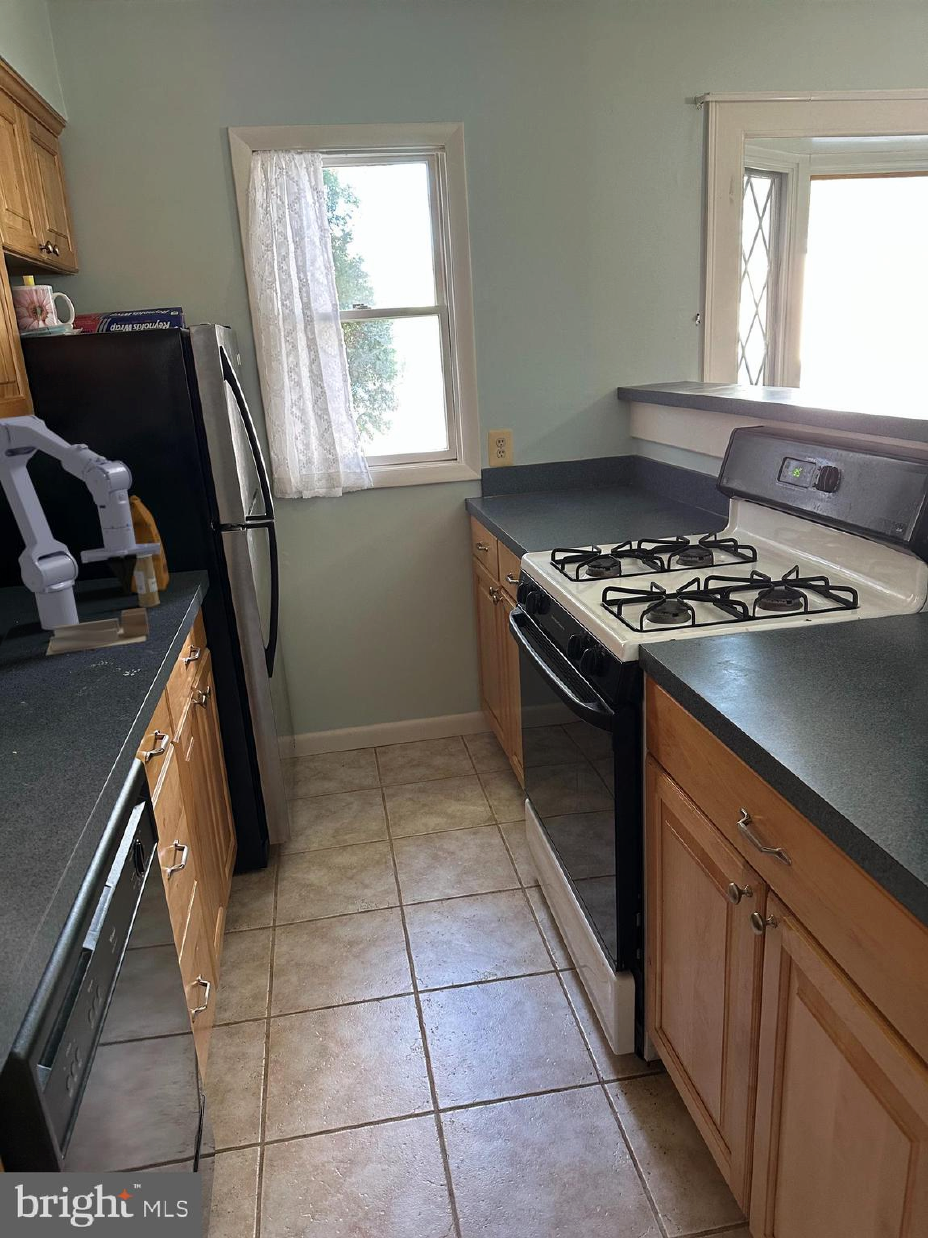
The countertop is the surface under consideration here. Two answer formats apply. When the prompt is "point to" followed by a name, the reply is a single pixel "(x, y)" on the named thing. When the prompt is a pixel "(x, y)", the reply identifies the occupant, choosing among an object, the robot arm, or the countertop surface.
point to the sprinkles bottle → (146, 581)
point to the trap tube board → (89, 636)
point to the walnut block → (135, 622)
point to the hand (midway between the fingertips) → (128, 593)
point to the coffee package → (148, 541)
